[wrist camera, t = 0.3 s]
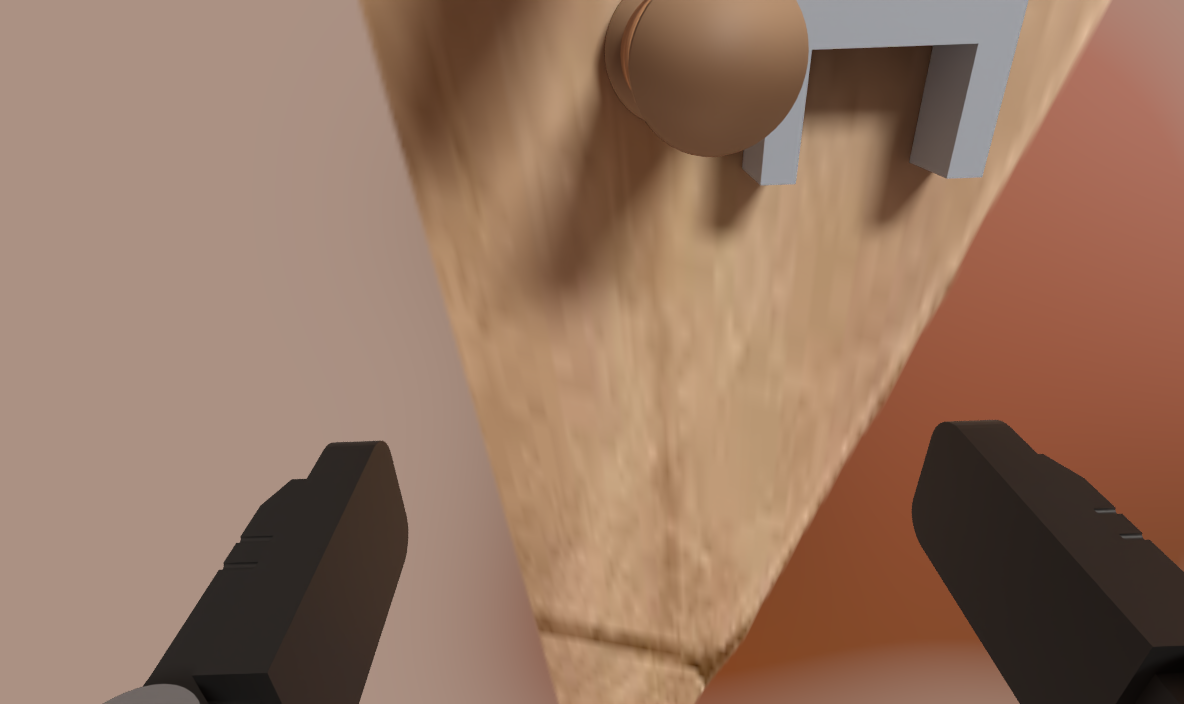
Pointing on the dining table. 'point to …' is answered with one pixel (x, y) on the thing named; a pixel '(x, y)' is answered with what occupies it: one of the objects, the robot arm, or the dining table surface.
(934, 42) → the notch board
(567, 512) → the dining table surface
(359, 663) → the robot arm
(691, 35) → the bobbin
